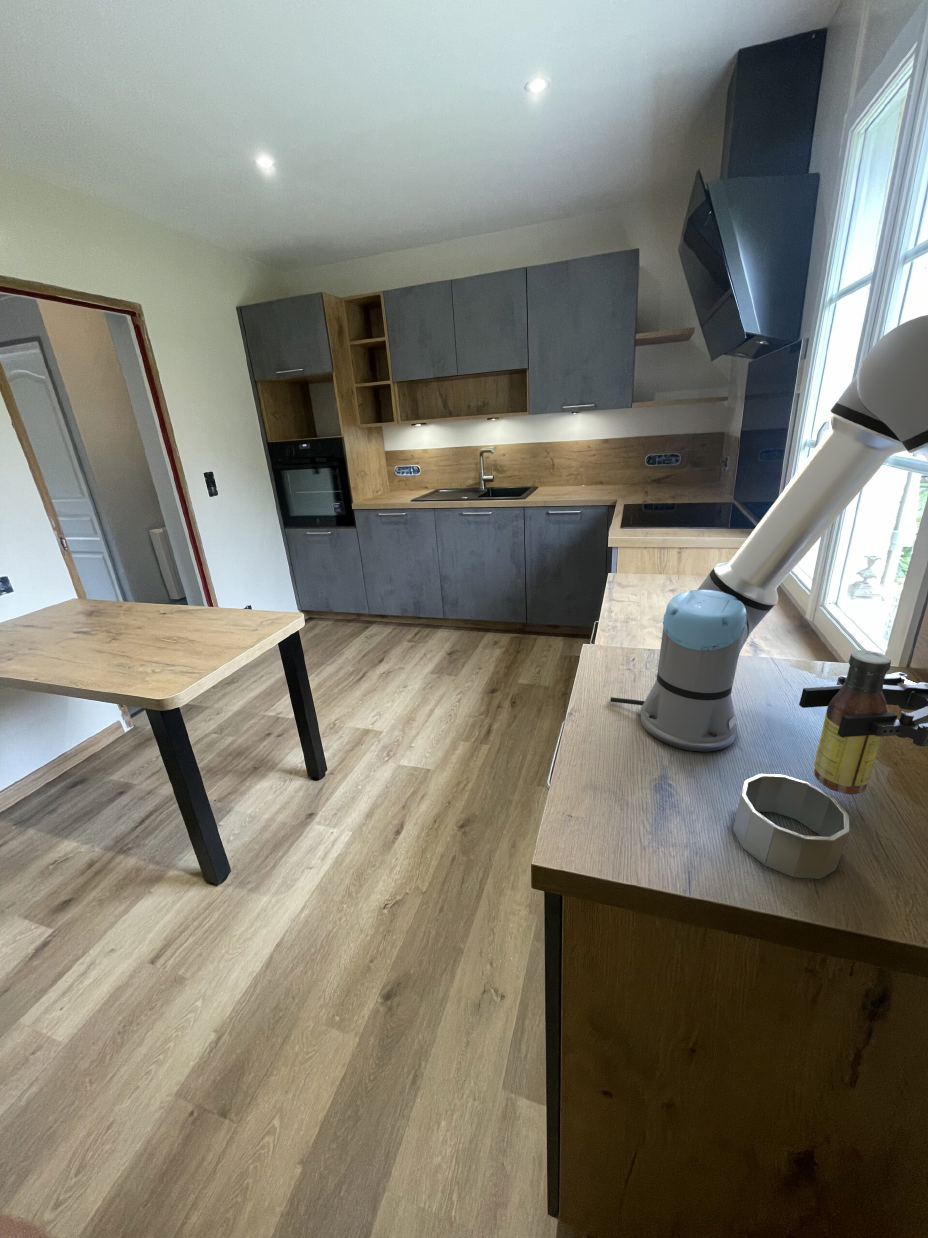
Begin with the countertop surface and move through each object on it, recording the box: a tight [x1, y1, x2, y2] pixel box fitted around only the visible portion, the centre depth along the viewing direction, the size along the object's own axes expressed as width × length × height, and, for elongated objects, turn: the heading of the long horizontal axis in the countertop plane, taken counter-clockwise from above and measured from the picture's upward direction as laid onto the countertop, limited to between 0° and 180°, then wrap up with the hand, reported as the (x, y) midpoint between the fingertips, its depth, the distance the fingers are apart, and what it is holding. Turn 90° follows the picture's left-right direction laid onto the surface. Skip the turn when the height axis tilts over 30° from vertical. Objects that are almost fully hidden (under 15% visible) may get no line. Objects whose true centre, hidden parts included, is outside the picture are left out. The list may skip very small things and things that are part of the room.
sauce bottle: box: [813, 649, 892, 796], centre depth 65 cm, size 7×6×20 cm
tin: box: [732, 773, 850, 880], centre depth 61 cm, size 11×11×6 cm
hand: (821, 711), depth 64 cm, fingers closed on sauce bottle, 6 cm apart
